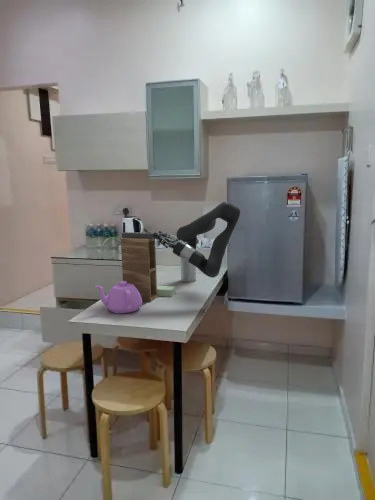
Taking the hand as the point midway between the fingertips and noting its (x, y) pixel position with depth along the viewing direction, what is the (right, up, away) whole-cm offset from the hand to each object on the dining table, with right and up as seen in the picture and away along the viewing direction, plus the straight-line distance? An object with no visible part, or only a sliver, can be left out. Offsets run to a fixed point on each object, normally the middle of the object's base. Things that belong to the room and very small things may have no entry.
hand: (156, 233), depth 195 cm
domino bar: (-6, -2, +3) cm, 7 cm away
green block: (0, -32, +17) cm, 36 cm away
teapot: (-17, -37, -9) cm, 42 cm away
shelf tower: (-9, -34, +9) cm, 36 cm away
